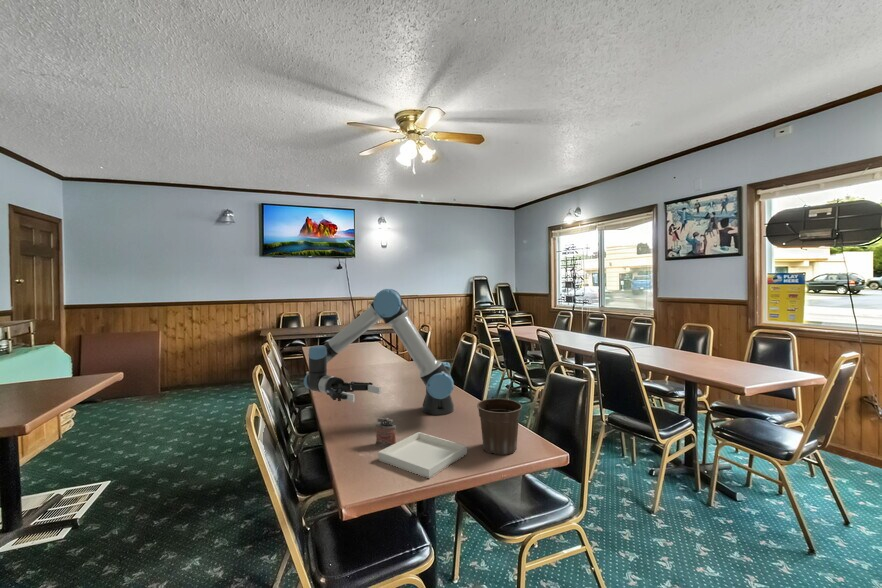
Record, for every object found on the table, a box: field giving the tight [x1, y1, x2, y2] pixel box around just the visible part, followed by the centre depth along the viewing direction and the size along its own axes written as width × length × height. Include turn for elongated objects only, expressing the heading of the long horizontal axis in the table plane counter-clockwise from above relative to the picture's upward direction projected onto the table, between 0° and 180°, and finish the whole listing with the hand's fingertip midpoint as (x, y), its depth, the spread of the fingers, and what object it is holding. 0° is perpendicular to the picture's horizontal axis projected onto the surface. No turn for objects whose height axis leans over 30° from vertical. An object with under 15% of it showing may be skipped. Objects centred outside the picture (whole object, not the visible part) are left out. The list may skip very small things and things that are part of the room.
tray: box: [377, 431, 468, 479], centre depth 134 cm, size 22×22×3 cm
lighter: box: [375, 417, 397, 448], centre depth 145 cm, size 8×3×10 cm, turn 71°
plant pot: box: [476, 398, 523, 456], centre depth 141 cm, size 16×16×16 cm
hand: (367, 394), depth 150 cm, fingers open, 13 cm apart
